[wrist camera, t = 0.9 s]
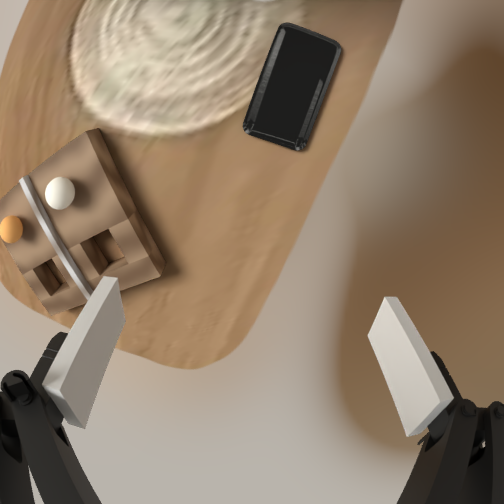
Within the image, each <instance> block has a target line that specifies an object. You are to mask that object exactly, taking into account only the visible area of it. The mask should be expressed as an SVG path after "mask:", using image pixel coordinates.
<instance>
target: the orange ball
mask: <svg viewBox="0 0 504 504" xmlns="http://www.w3.org/2000/svg"><path fill="white" fill-rule="evenodd" d="M22 233H23V225H22V222H21V220H20V219H19V218H18V217H16V216H13V215H10V216H7V217H5V218H4V219H3V220H2V222H1V224H0V235H1V238H2V239H3V240H4V241H5V242H7V243H15V242H17V241H18V240H19V239H20V238H21V236H22Z"/></svg>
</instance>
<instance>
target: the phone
mask: <svg viewBox="0 0 504 504" xmlns="http://www.w3.org/2000/svg"><path fill="white" fill-rule="evenodd" d="M340 53H341V46H340V44H339V43H338V42H337V41H335V40H333V39H330V38H328V37H326V36H323V35H321V34H319V33H316V32H314V31H311V30H308V29H306V28H303V27H300V26H298V25H295V24H292V23H283V24H281V25H280V26H279V28H278V30H277V32H276V35H275V37H274V40H273V42H272V45H271V48H270V50H269V53H268V55H267V58H266V61H265V63H264V66H263V69H262V71H261V74H260V77H259V80H258V82H257V85H256V88H255V91H254V93H253V96H252V99H251V102H250V105H249V108H248V110H247V113H246V116H245V119H244V122H243V129H244V131H245V132H246V133H247V134H249V135H251V136H254V137H257V138H260V139H263V140H267V141H270V142H273V143H275V144H278V145H281V146H284V147H287V148H290V149H293V150H301V149H303V148H304V147H305V146H306V144H307V141H308V138H309V136H310V133H311V130H312V128H313V125H314V123H315V120H316V118H317V115H318V112H319V109H320V107H321V104H322V101H323V99H324V96H325V93H326V90H327V88H328V85H329V82H330V80H331V77H332V74H333V72H334V69H335V66H336V64H337V61H338V58H339V55H340Z"/></svg>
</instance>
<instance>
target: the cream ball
mask: <svg viewBox="0 0 504 504" xmlns="http://www.w3.org/2000/svg"><path fill="white" fill-rule="evenodd" d="M74 196H75V188H74V185H73V183H72V182H71V181H70V180H69V179H68V178H65V177H57V178H54V179H53V180H52V181H50V183H49V184H48V185H47V188H46V191H45V197H46V201H47V203H48V204H49V205H50V206H51V207H52V208H54V209H58V210H60V209H64V208H66V207H68V206H69V205H70V204H71V203H72V201H73V199H74Z"/></svg>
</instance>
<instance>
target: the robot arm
mask: <svg viewBox="0 0 504 504" xmlns="http://www.w3.org/2000/svg"><path fill="white" fill-rule="evenodd" d="M125 322H126V320H125V315H124V310H123V305H122V300H121V294H120V289H119V283H118V278H115V277H107V276H103V278H102V279H101V281H100V282H99V284H98V286H97V287H96V289H95V290H94V292H93V293H92V295H91V297H90V298H89V300H88V301H87V303H86V305H85V306H84V308H83V310H82V311H81V313H80V315H79V316H78V318H77V320H76V321H75V323H74V325H73V327H72V328H71V330H70V332H69V334H68V333H63V332H59V333H58V334H57V335H55V336H54V337H53V338H52V339H51V341H50V342H49V344H48V346H47V348H46V350H45V351H44V353H43V355H42V357H41V358H40V360H39V362H38V364H37V365H36V367H35V369H34V371H33V373H32V375H31V377H30V378H29V377H28V375H27V374H26V373H25V372H23V371H20V370H14V371H11V372H9V373H7V374H6V375H5V376H4V377H3V379H2V381H1V390H2V391H3V392H0V504H35V502H34V498H33V492H32V487H31V481H30V474H29V468H30V471H31V473H32V476H33V478H34V481H35V483H36V486H37V488H38V490H39V493H40V495H41V497H42V500H43V502H44V504H102V503H101V501H100V500H99V498H98V496H97V495H96V493H95V492H94V490H93V488H92V486H91V484H90V482H89V481H88V479H87V477H86V475H85V473H84V471H83V469H82V467H81V465H80V463H79V461H78V459H77V457H76V455H75V453H74V450H73V448H72V446H71V444H70V442H69V439H68V437H67V435H66V432H65V430H64V427H63V426H62V424H61V423H62V421H63V418H65V419H66V421H67V422H68V423H69V424H71V425H74V426H77V427H80V428H84V429H85V427H86V424H87V421H88V418H89V415H90V412H91V409H92V406H93V403H94V400H95V398H96V395H97V392H98V389H99V386H100V384H101V381H102V378H103V376H104V373H105V371H106V368H107V365H108V363H109V360H110V358H111V355H112V353H113V350H114V348H115V345H116V343H117V340H118V338H119V336H120V333H121V331H122V329H123V326H124V324H125ZM368 338H369V340H370V343H371V345H372V347H373V350H374V352H375V355H376V357H377V359H378V362H379V364H380V367H381V369H382V372H383V374H384V377H385V379H386V381H387V384H388V387H389V389H390V392H391V394H392V397H393V400H394V402H395V405H396V408H397V410H398V413H399V416H400V419H401V421H402V424H403V427H404V430H405V433H406V435H407V437H408V436H412V435H416V434H420V433H421V432H422V431H423V430H424V429H425V428H426V427H428V429H429V432H428V433H427V434H426V435H425V436H424V437H423V438H422V439H421V440H420V441H419V442H418V445H420V443H422V442H423V441H424V443H423V445H422V448H421V451H420V453H419V456H418V458H417V461H416V463H415V465H414V468H413V470H412V472H411V475H410V477H409V479H408V481H407V484H406V486H405V488H404V490H403V492H402V494H401V496H400V498H399V500H398V502H397V504H504V404H502V403H501V402H499V401H495V402H493V403H492V404H491V405H490V406H489V407H488V408H478V407H476V405H475V404H474V403H473V402H471V401H470V400H468V399H463V398H462V397H461V395H460V393H459V391H458V389H457V387H456V385H455V383H454V381H453V379H452V377H451V376H450V375H449V372H448V370H447V368H445V365H444V363H443V361H442V359H441V358H440V357H439V356H438V355H437V354H436V353H435V352H434V351H433V352H429V350H428V348H427V347H426V345H425V343H424V341H423V339H422V338H421V336H420V334H419V333H418V331H417V329H416V328H415V326H414V324H413V323H412V321H411V319H410V318H409V316H408V314H407V313H406V311H405V309H404V308H403V306H402V305H401V303H400V301H399V300H398V298H397V297H384V300H383V302H382V305H381V307H380V309H379V311H378V314H377V316H376V318H375V321H374V323H373V325H372V327H371V330H370V332H369V334H368ZM484 441H485V447H484V448H483V447H482V443H483V442H484ZM28 465H29V467H28Z"/></svg>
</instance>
